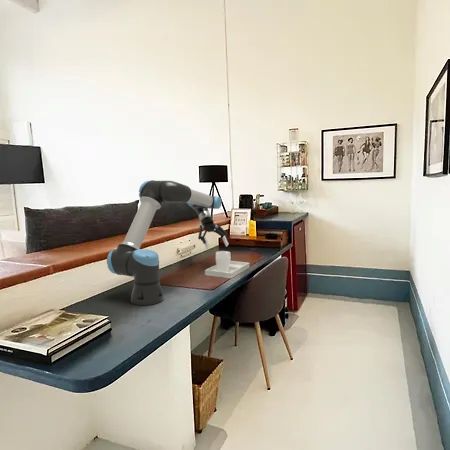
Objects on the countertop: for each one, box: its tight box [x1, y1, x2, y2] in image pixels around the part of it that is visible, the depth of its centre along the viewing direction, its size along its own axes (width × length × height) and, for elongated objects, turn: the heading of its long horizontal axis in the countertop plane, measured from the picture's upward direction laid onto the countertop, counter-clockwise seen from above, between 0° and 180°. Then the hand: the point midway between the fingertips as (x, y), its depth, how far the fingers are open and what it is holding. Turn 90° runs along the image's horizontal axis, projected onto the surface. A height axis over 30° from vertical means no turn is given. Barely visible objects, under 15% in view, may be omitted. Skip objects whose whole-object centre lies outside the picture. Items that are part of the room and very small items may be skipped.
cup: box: [215, 250, 231, 272], centre depth 212 cm, size 9×9×12 cm
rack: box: [204, 260, 250, 279], centre depth 219 cm, size 28×17×3 cm, turn 154°
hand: (217, 246), depth 218 cm, fingers open, 13 cm apart
